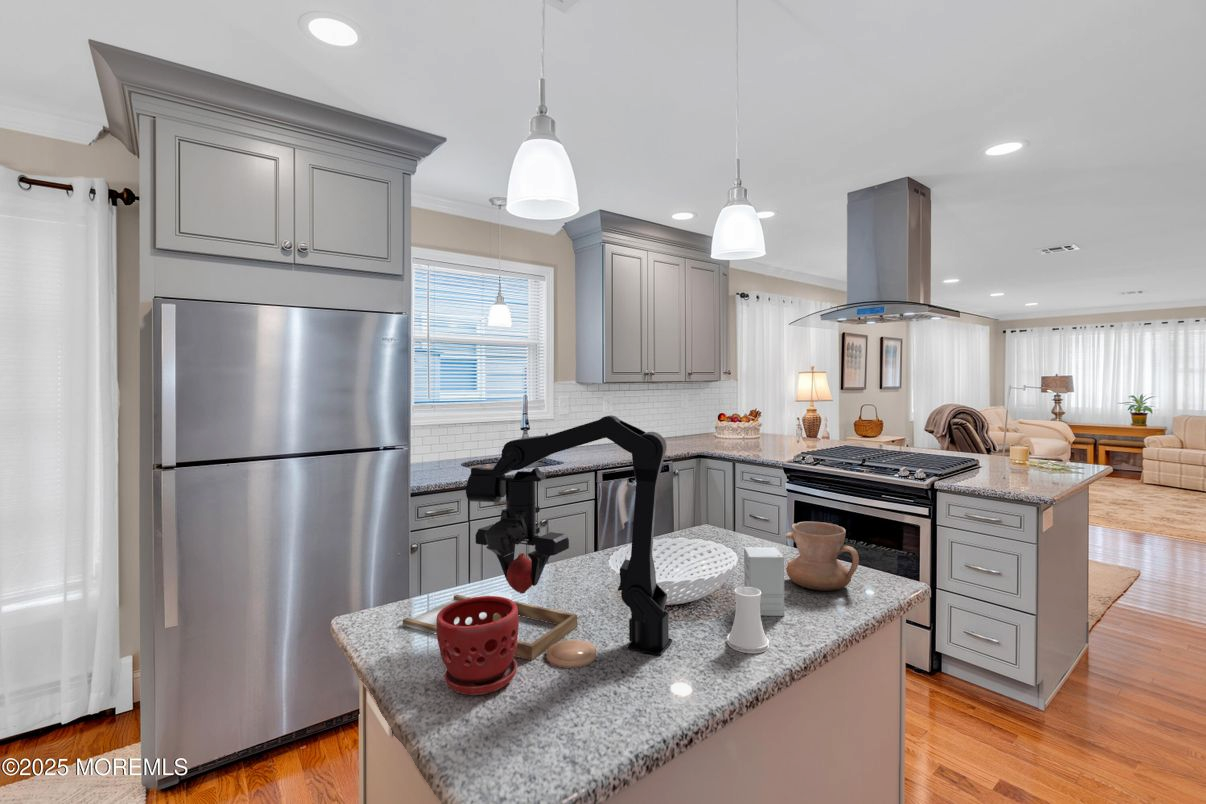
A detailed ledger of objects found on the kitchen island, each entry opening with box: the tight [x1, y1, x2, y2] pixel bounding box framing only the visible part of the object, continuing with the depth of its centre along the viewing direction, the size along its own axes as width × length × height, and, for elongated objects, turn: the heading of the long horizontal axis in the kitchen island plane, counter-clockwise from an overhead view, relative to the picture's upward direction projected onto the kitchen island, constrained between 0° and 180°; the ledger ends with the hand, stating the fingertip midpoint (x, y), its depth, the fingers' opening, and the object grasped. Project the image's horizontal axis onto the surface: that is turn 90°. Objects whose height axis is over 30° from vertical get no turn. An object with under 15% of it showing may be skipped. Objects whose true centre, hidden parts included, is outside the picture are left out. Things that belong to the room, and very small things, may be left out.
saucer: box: [545, 639, 598, 669], centre depth 100 cm, size 9×9×1 cm
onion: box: [506, 551, 533, 595], centre depth 109 cm, size 6×6×8 cm
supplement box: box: [743, 546, 785, 617], centre depth 121 cm, size 7×7×13 cm
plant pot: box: [436, 595, 520, 696], centre depth 92 cm, size 13×13×12 cm
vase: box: [726, 586, 770, 654], centre depth 104 cm, size 8×8×10 cm
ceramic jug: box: [784, 521, 860, 592], centre depth 135 cm, size 18×14×14 cm
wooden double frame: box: [402, 594, 578, 661], centre depth 113 cm, size 32×16×2 cm, turn 62°
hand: (521, 582), depth 109 cm, fingers closed on onion, 6 cm apart
